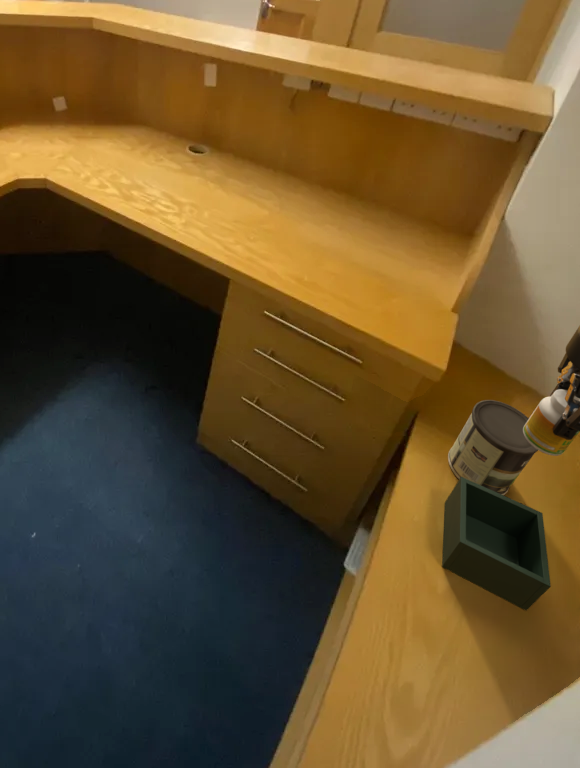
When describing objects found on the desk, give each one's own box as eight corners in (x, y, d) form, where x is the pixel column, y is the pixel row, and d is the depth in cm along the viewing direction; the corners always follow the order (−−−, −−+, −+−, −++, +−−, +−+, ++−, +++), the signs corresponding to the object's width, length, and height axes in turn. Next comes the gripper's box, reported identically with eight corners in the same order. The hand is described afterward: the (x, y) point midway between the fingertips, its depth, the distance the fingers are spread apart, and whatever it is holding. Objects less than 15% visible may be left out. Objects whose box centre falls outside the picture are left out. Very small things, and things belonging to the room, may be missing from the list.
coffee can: (511, 464, 98) (543, 420, 90) (506, 509, 91) (540, 465, 83) (451, 433, 103) (477, 389, 96) (442, 474, 96) (469, 430, 89)
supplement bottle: (558, 464, 76) (589, 424, 71) (517, 438, 79) (543, 399, 74) (567, 441, 79) (598, 402, 74) (527, 417, 82) (553, 378, 77)
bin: (520, 538, 87) (542, 512, 82) (526, 611, 78) (550, 586, 74) (444, 502, 92) (461, 476, 87) (441, 566, 83) (460, 541, 78)
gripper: (666, 394, 60) (597, 473, 69) (638, 317, 71) (582, 394, 80) (587, 367, 64) (531, 445, 72) (572, 298, 74) (525, 374, 83)
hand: (558, 418), depth 76 cm, fingers closed on supplement bottle, 5 cm apart
